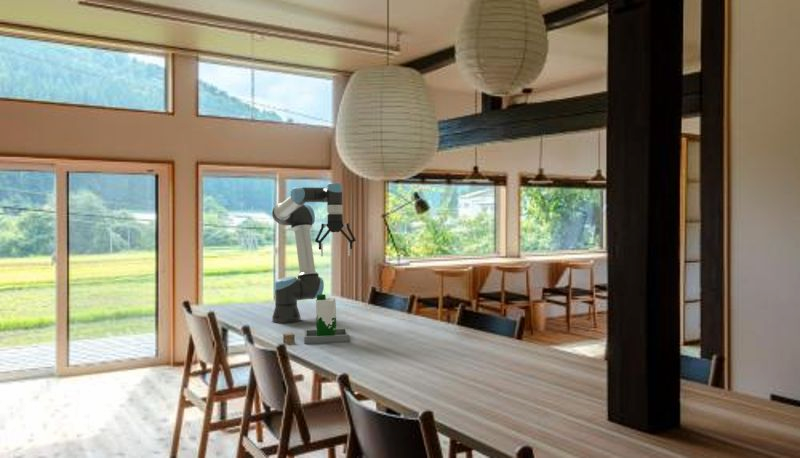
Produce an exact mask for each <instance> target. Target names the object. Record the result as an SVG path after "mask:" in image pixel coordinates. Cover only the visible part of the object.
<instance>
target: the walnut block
mask: <svg viewBox="0 0 800 458" xmlns="http://www.w3.org/2000/svg"><path fill="white" fill-rule="evenodd" d="M282 336H283V337H282V341H283V343H284V344H286V345H288V344H290V343H291V344H296V342H295V341H296V339H295V337H296V336H295V333H293V332H289V333H283V334H282Z"/></svg>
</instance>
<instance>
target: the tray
mask: <svg viewBox="0 0 800 458" xmlns="http://www.w3.org/2000/svg"><path fill="white" fill-rule="evenodd" d="M303 337H304V344H306V345H308V344H311V345H312V344H329V343H330V344H331V343H332V344H333V343H349V342H350V334H349V331H348V328H336V333H335V335H332V336H317V329H304V336H303Z"/></svg>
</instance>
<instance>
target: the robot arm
mask: <svg viewBox="0 0 800 458" xmlns="http://www.w3.org/2000/svg"><path fill="white" fill-rule="evenodd" d="M305 203H326V204H327V205H326V206H327V209H326V210H327V213H328V214H327V223H321V226H320V229H319V231H318V233H317V236H316V237H315V239H314V242H315V243H318V249H319V250H320V252H321V253H320V255H321V257H323V255H324V243H323V241H324V239H326V238H327V236H328V235H329V234H330V233H341V234H342V235H343V236H344V237H345V239H347V241H348V242H347V247H348V248H347V250H348V251H347V252H348V253H347V255H348V257H351V250H352V249H353V243H354V242H356V241H357V240H356V238H355V236H354V233H353V232H352V230H351V228H350V223H349V222H347V223H344V221H343V219H344V217H343V184H342V183H341V182H328V183H327V184H326V187H313V186H312V187H306V186H305V187H303V186H302V187H301V186H297V187H292V189H291V191H290V195H289V197H287V198H286V199H285V200H284V201H282V202H280V203H277V204H276V205H275V206H273V209H272V212H271V213H272V214H271V215H272V218H273V220H274V221H275V222H276V223H278V224H279V225H282V226H290V228H291V230H292V231H293V232H294V237H295V245H296V246H295V247H296V254H297V260H298V261H297V262H298V268H299V270H298V272H299V274H298V275H297V276H286V277H285V276H284V277H281V278H278V279H276V280H275V282H274V299H275V300H274V301H275V303H274V305H275V306H274V311H273V314H272V317H271V318H272V321H271V322H273V323H276V324H290V323H297V322H300V321H301V319H302V318H301V314H300V310H299V307H298V301H301V300H302V301H305V300H315V299H317V295H319V294H324V293H323V292H324V287H325V284H324V283H325V282H324V278H322V277H321V276H319V273H318V271H316V265H315V259H314V251H313V245H312V243H313V242H312V236H311V229H312V228H313V225H314V224H315V221H316V220H315V218H316V215H315V212H314V208H313V207H312V206H311V205H309V204H305ZM326 227H327V229H328V230H327V231H326V232H325V233H324V235H323V236H322V237H321V234H322V233H323V231H324V229H325V228H326ZM343 227H345V228H346V230H347V231H348V233H349V235H350V236H349V235H348V234H346V232H345V230H343ZM320 237H321V238H320Z"/></svg>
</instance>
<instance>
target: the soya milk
mask: <svg viewBox="0 0 800 458" xmlns="http://www.w3.org/2000/svg"><path fill="white" fill-rule="evenodd" d="M336 303H337V302H336V298H334V297H333V298H332V297H331V298H330V297H326V294H324V293H322V294H319V295H317V298H316V300H315V317H316V318H315V319H316V322H315V323H316V324H315V326H316V329H315V330H317V336H332V335H335V333H336V329H337V304H336Z"/></svg>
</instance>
